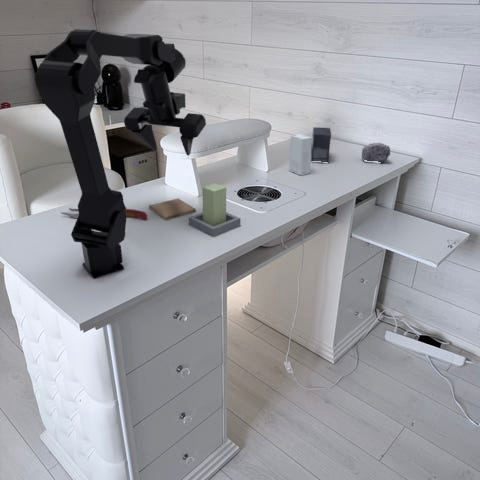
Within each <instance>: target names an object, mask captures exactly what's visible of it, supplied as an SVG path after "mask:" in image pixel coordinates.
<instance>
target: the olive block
mask: <svg viewBox="0 0 480 480" xmlns="http://www.w3.org/2000/svg"><path fill="white" fill-rule="evenodd" d="M201 188H202V212H203V222H205V223H207V224H209V225H211V226H213V227H214V226H216V225H219V224H221V223H224V222H226V212H227V187H226V186H223V185H220V184H218V183H216V182H214V183H210V184H207V185H205V186H204V185H203V186H202V187H201Z"/></svg>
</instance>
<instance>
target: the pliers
mask: <svg viewBox="0 0 480 480" xmlns="http://www.w3.org/2000/svg"><path fill="white" fill-rule="evenodd" d="M68 210H69V211H60V214H62V215H64V216H66V217H67V216H68V217H70V218H73V219H77V218H78V216H79V211H78V208H70V207H69V208H68ZM125 213H126V219H130V218H131V219H137V220H141V221H147V220H148V215H147V213H146V211H142V210H137V209H133V208H126V210H125ZM100 232H102V231H100ZM102 233H107V232H102ZM107 234H108V233H107Z"/></svg>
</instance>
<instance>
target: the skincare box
mask: <svg viewBox="0 0 480 480" xmlns="http://www.w3.org/2000/svg"><path fill="white" fill-rule="evenodd" d="M289 145H290V146H289V147H290V148H289V164H288V165H289V168H288V170H289V172H292V173H293V172H294V174H296V175H298V176H306V175H305V174H307V175H309V174H310V172H311V146H312V136H311V137H310V136H308V135H305V134H300V133H298V134H294V135H293V134H291V135H290V143H289ZM308 173H309V174H308Z"/></svg>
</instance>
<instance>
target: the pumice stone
mask: <svg viewBox="0 0 480 480" xmlns="http://www.w3.org/2000/svg"><path fill="white" fill-rule="evenodd" d="M390 155H391V148H390V146H389V145H387V144H385V143H382V142H373V143H372V142H371V143H369V144H368V145H364V147H363V148H362V150H361V159H362V160H363V159H364V160H367V161H378V162H382V163H384V161H386V160H388V158H389V156H390Z"/></svg>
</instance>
